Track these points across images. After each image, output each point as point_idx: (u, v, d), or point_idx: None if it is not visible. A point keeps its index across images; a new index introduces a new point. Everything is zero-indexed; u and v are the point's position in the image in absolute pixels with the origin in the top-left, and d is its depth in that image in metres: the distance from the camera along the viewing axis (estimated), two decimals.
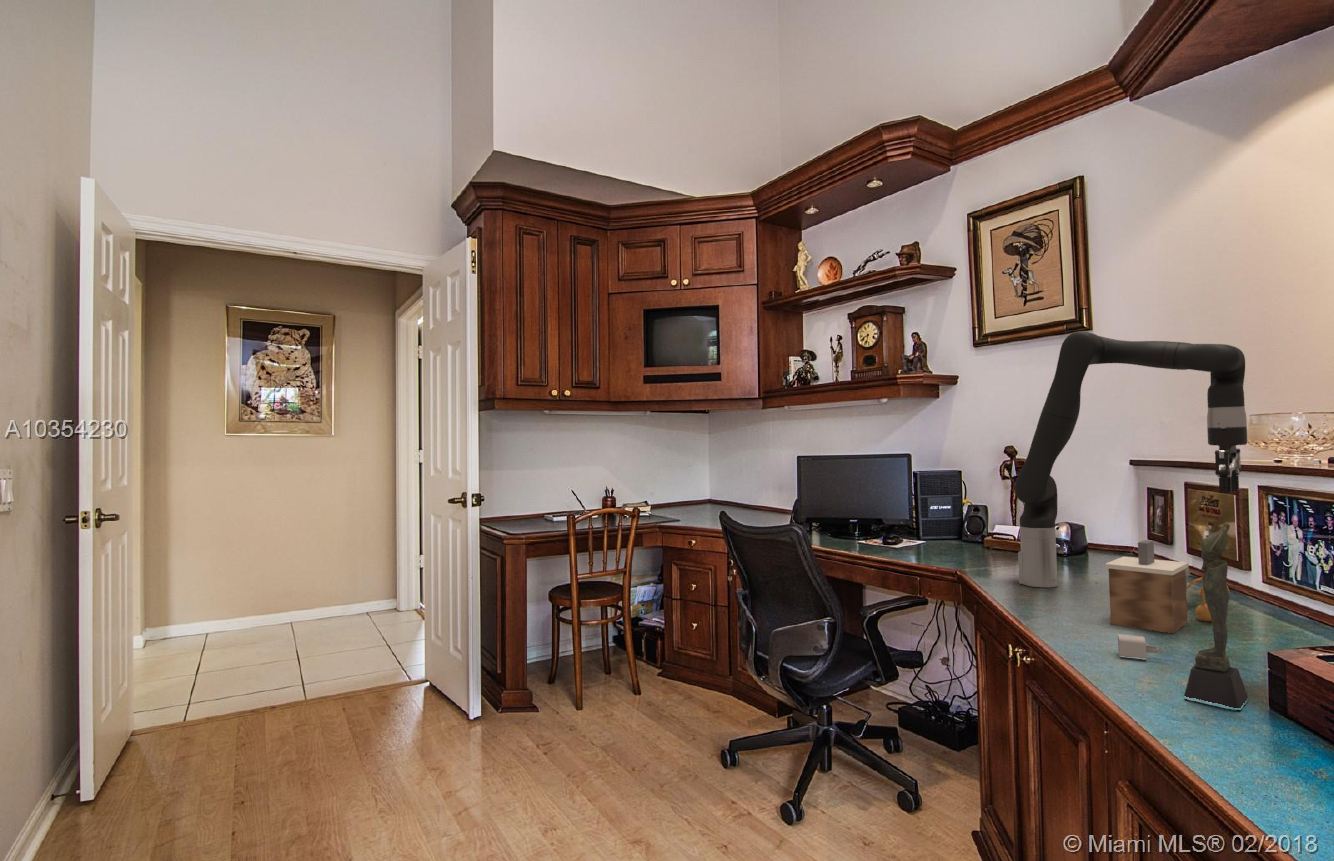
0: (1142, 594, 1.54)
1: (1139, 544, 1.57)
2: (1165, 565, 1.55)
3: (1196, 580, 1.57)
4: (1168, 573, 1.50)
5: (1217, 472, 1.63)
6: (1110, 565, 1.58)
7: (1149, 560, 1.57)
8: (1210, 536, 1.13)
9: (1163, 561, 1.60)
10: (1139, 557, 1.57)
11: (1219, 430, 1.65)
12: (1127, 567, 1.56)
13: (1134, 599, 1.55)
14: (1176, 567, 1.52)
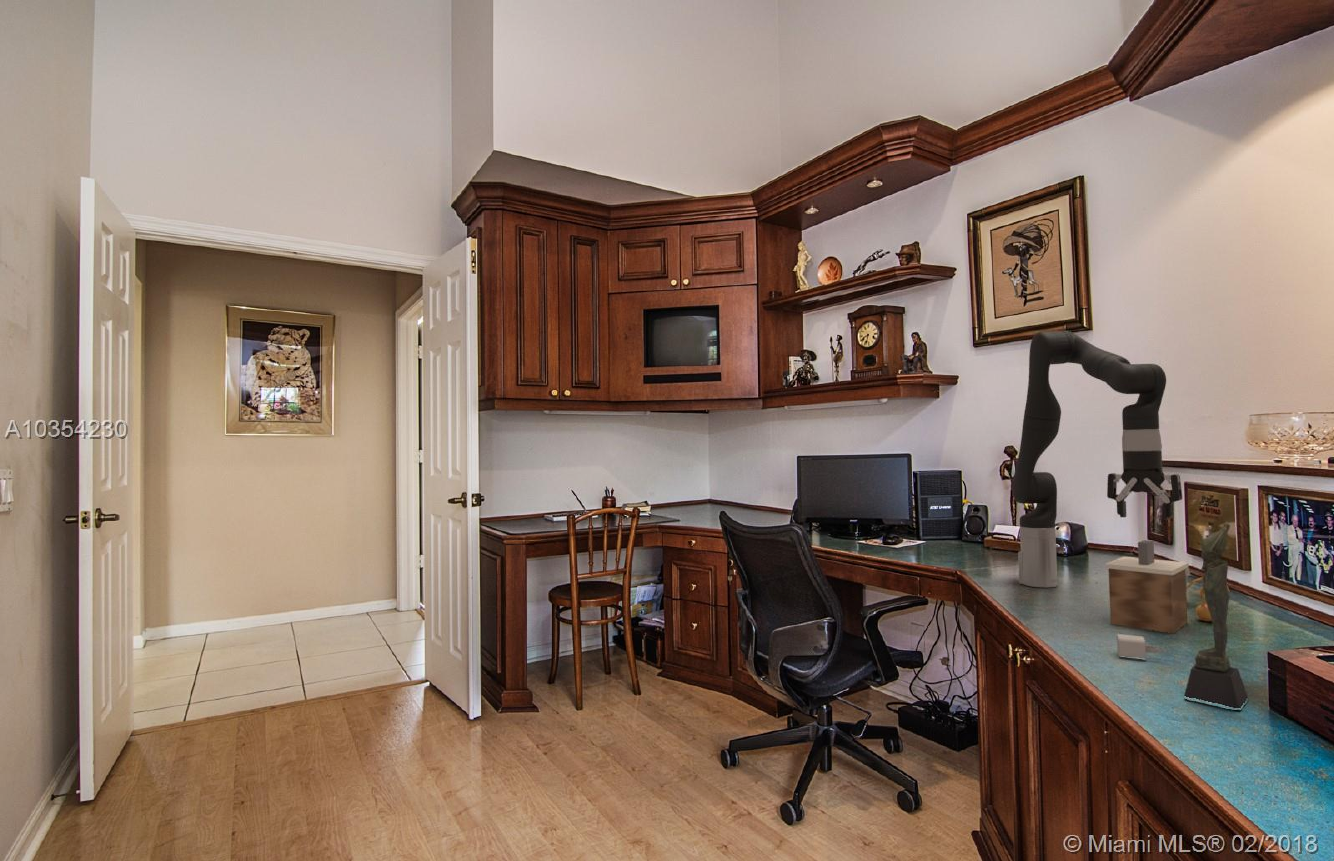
0: (1142, 594, 1.54)
1: (1139, 544, 1.57)
2: (1165, 565, 1.55)
3: (1196, 580, 1.57)
4: (1168, 573, 1.50)
5: (1179, 498, 1.53)
6: (1110, 565, 1.58)
7: (1149, 560, 1.57)
8: (1210, 536, 1.13)
9: (1163, 561, 1.60)
10: (1139, 557, 1.57)
11: (1159, 453, 1.55)
12: (1127, 567, 1.56)
13: (1134, 599, 1.55)
14: (1176, 567, 1.52)
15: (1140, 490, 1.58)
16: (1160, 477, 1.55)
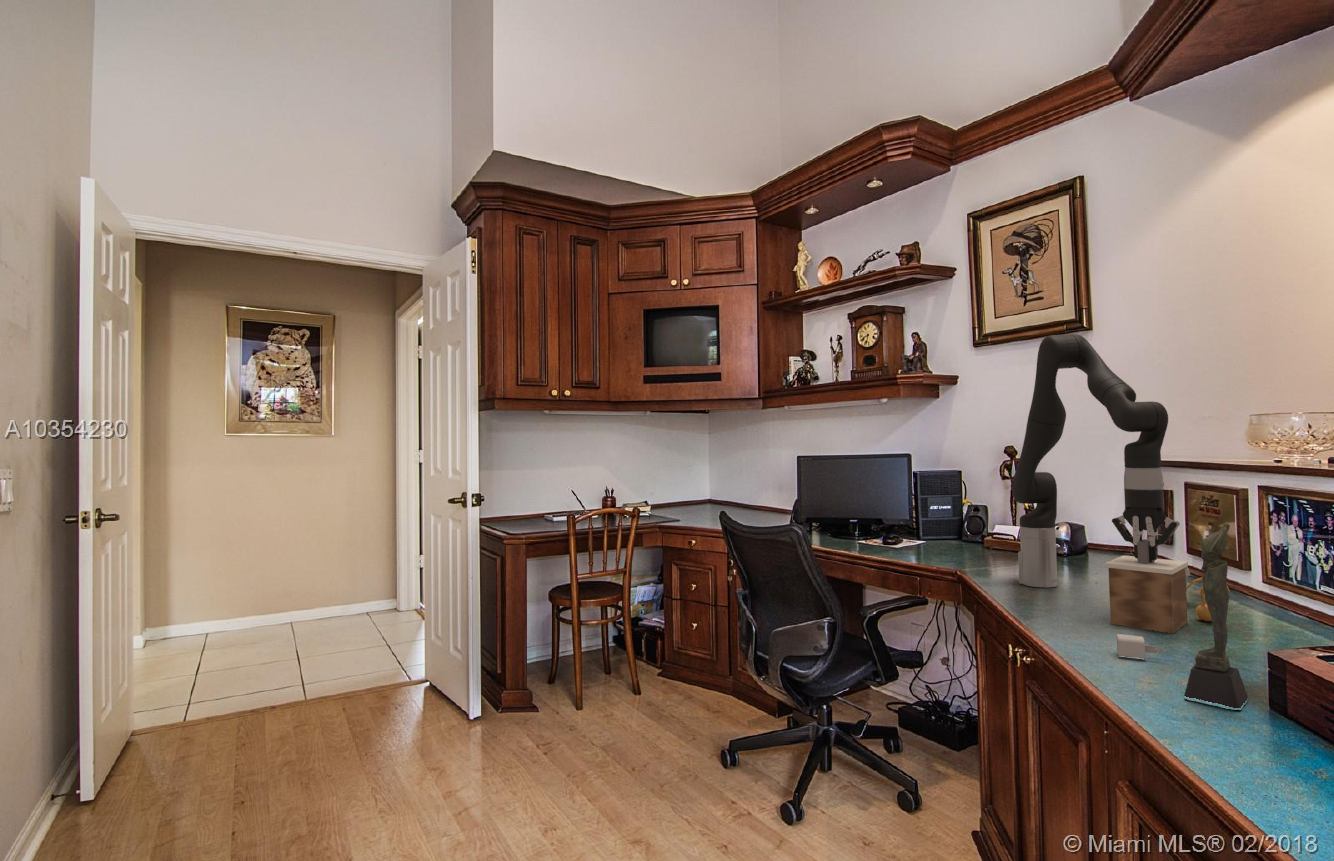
0: (1142, 594, 1.54)
1: (1138, 543, 1.57)
2: (1165, 564, 1.55)
3: (1196, 580, 1.57)
4: (1167, 572, 1.50)
5: None
6: (1110, 564, 1.58)
7: None
8: (1210, 536, 1.13)
9: (1163, 560, 1.60)
10: (1138, 556, 1.57)
11: (1161, 492, 1.55)
12: (1126, 566, 1.56)
13: (1134, 599, 1.55)
14: (1175, 566, 1.52)
15: (1142, 528, 1.58)
16: (1162, 516, 1.55)
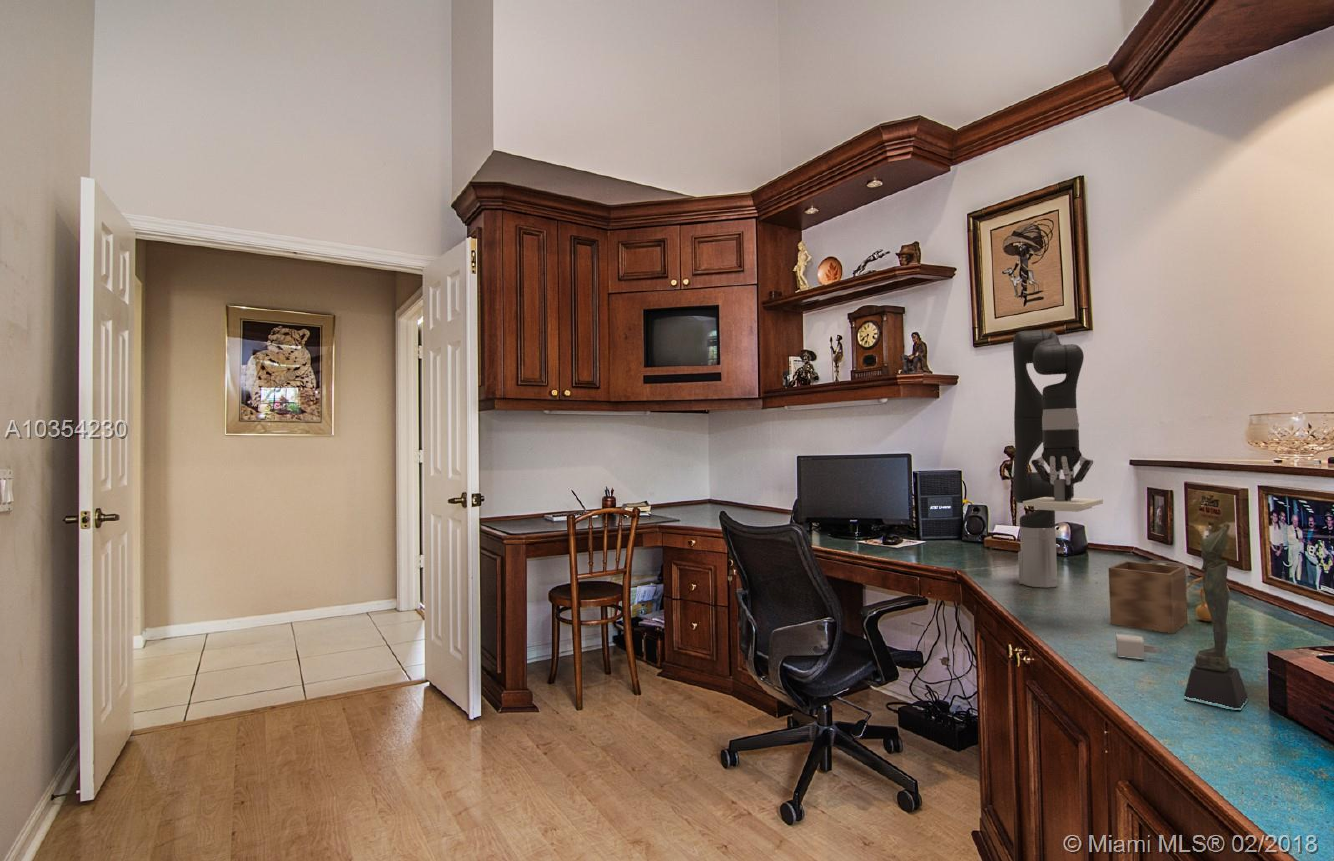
0: (1142, 594, 1.54)
1: (1055, 481, 1.61)
2: (1079, 501, 1.59)
3: (1196, 580, 1.57)
4: (1079, 507, 1.54)
5: (1078, 481, 1.59)
6: (1027, 502, 1.63)
7: (1064, 497, 1.61)
8: (1210, 536, 1.13)
9: (1079, 499, 1.64)
10: (1055, 494, 1.62)
11: (1076, 432, 1.60)
12: (1042, 503, 1.60)
13: (1134, 599, 1.55)
14: (1088, 502, 1.57)
15: (1058, 468, 1.62)
16: (1076, 455, 1.59)
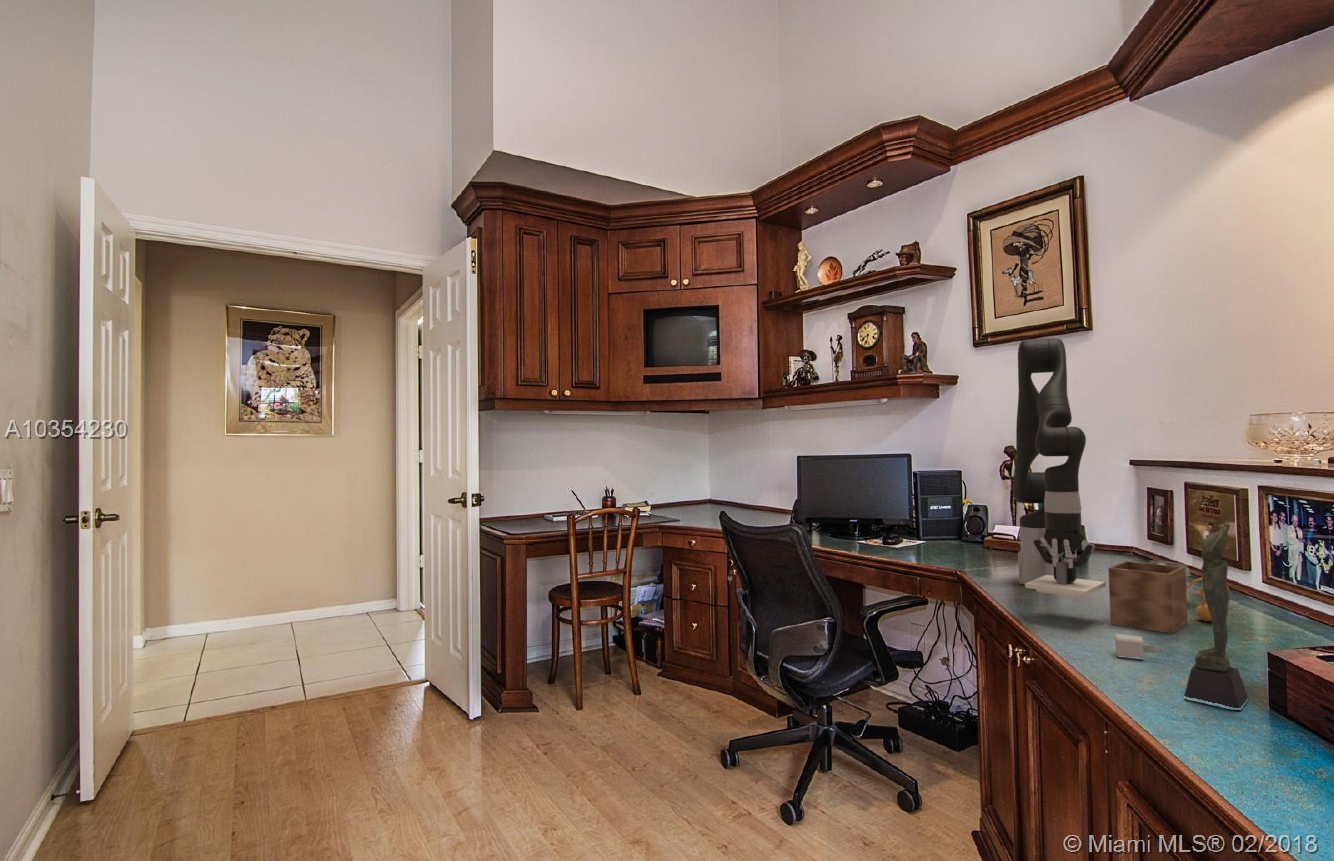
0: (1142, 594, 1.54)
1: (1057, 564, 1.61)
2: (1081, 585, 1.59)
3: (1196, 580, 1.57)
4: (1081, 594, 1.54)
5: (1081, 565, 1.59)
6: (1029, 585, 1.62)
7: None
8: (1210, 536, 1.13)
9: (1082, 580, 1.64)
10: (1057, 577, 1.61)
11: (1078, 515, 1.59)
12: (1045, 587, 1.60)
13: (1134, 599, 1.55)
14: (1091, 587, 1.57)
15: (1061, 550, 1.62)
16: (1079, 539, 1.59)
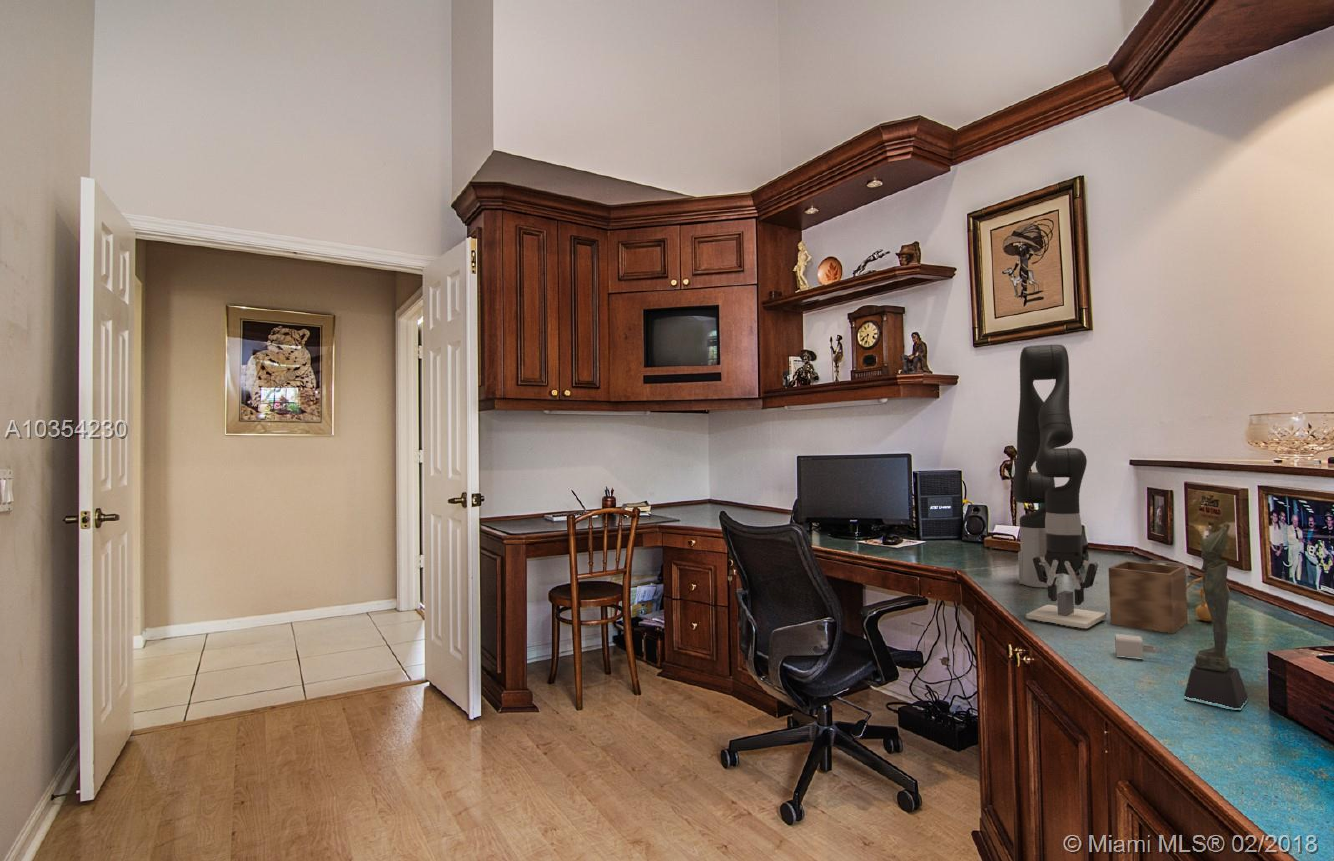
0: (1142, 594, 1.54)
1: (1058, 595, 1.61)
2: (1082, 616, 1.59)
3: (1196, 580, 1.57)
4: (1083, 626, 1.54)
5: (1089, 586, 1.58)
6: (1030, 615, 1.62)
7: (1068, 611, 1.61)
8: (1210, 536, 1.13)
9: (1083, 611, 1.64)
10: (1058, 608, 1.61)
11: (1079, 537, 1.59)
12: (1046, 618, 1.60)
13: (1134, 599, 1.55)
14: (1092, 619, 1.57)
15: (1061, 572, 1.62)
16: (1079, 561, 1.59)
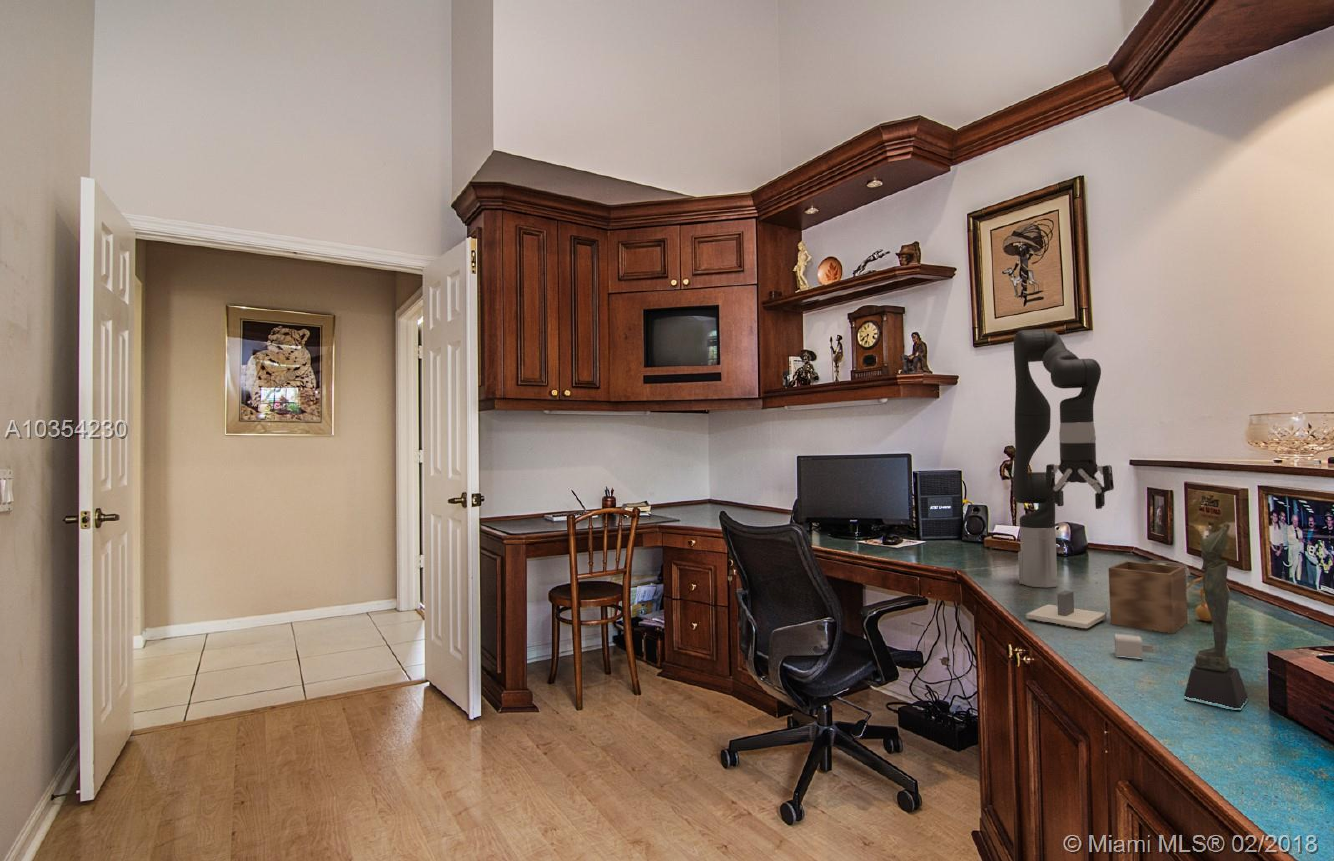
0: (1142, 594, 1.54)
1: (1058, 595, 1.61)
2: (1082, 616, 1.59)
3: (1196, 580, 1.57)
4: (1083, 626, 1.54)
5: (1110, 488, 1.60)
6: (1030, 615, 1.62)
7: (1068, 611, 1.61)
8: (1210, 536, 1.13)
9: (1083, 611, 1.64)
10: (1058, 608, 1.61)
11: (1093, 445, 1.62)
12: (1046, 618, 1.60)
13: (1134, 599, 1.55)
14: (1092, 619, 1.57)
15: (1075, 480, 1.65)
16: (1093, 468, 1.62)
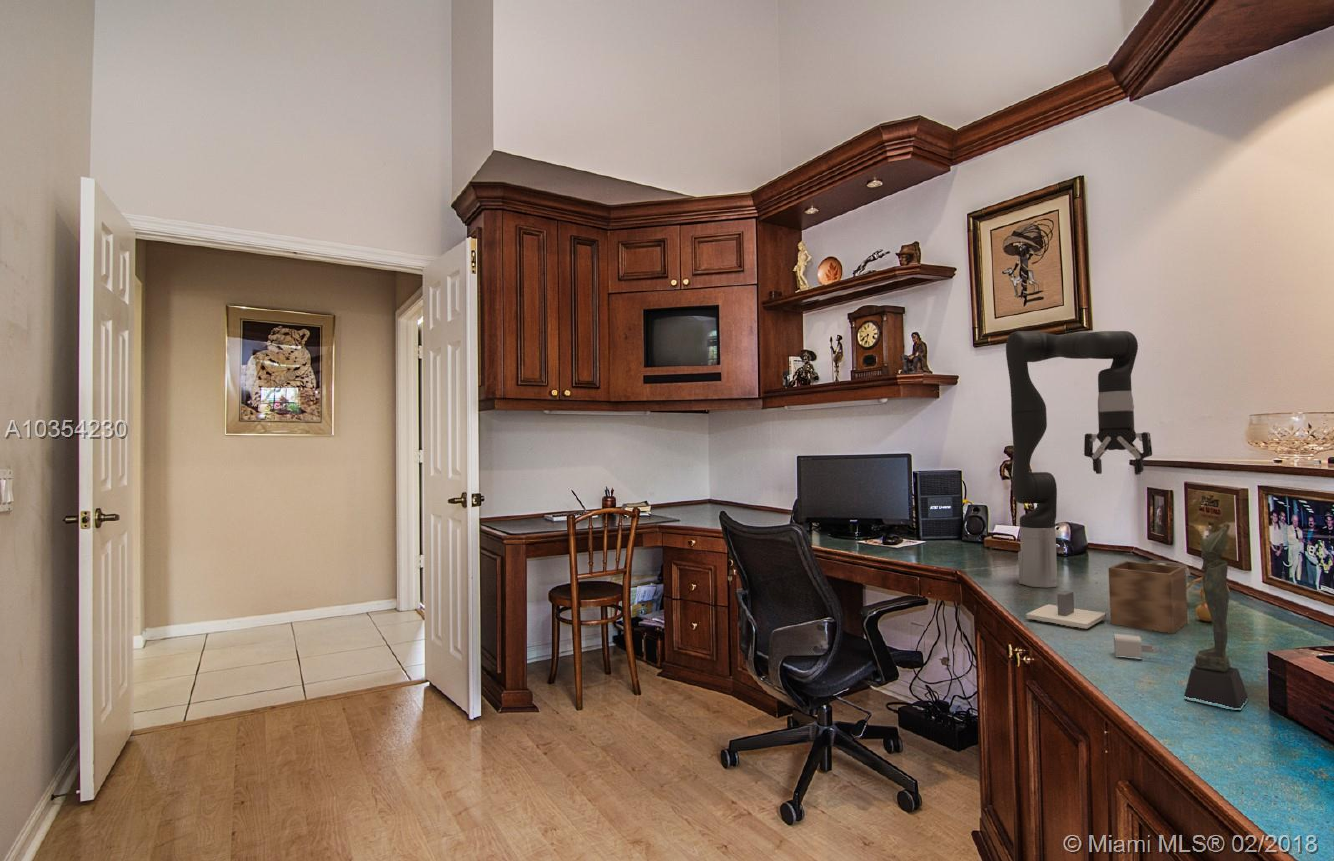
0: (1142, 594, 1.54)
1: (1058, 595, 1.61)
2: (1082, 616, 1.59)
3: (1196, 580, 1.57)
4: (1082, 626, 1.54)
5: (1149, 453, 1.65)
6: (1030, 615, 1.62)
7: (1068, 611, 1.61)
8: (1210, 536, 1.13)
9: (1083, 611, 1.64)
10: (1058, 608, 1.61)
11: (1131, 413, 1.68)
12: (1046, 618, 1.60)
13: (1134, 599, 1.55)
14: (1092, 619, 1.57)
15: (1114, 448, 1.71)
16: (1132, 435, 1.68)
